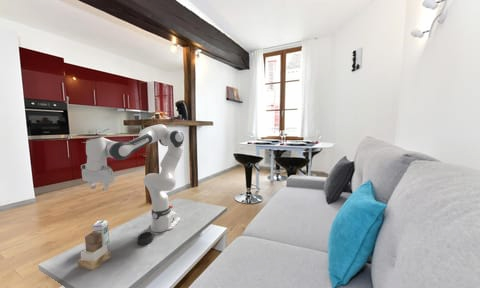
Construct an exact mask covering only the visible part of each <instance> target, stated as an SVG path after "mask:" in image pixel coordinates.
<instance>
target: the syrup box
mask: <svg viewBox="0 0 480 288" xmlns="http://www.w3.org/2000/svg"><path fill="white" fill-rule="evenodd" d="M108 224H109V223H108V219H103V220H97V221H96V222H95V223H94V224H93V225H91V226H92V228H91V229H92V232H94V231H95V232H101V233H102V244H106V245H107V246H108V244H109V242H110V236H109V235H110V233H109V225H108Z"/></svg>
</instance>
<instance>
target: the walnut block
mask: <svg viewBox="0 0 480 288" xmlns="http://www.w3.org/2000/svg"><path fill="white" fill-rule="evenodd" d="M84 244H85V249H86V251H89V252H95V251H97V250H98V249H100V248H101V247H103V245H102V233H101V232H95V231H94V232H93V231H92V232H91V233H89V234H87V235H85V236H84Z"/></svg>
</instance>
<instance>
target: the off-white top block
mask: <svg viewBox="0 0 480 288" xmlns="http://www.w3.org/2000/svg"><path fill="white" fill-rule="evenodd" d="M102 245H103V247H101V248H100V249H98V250H97V251H95V252H89V251H86V248H85V249H84V250H83V251H81V252H80V258H81V260H86V261H96V260H97V259H99V258H100V257H101V256H102V255H104V254H105V253H106V252H107V251H109V249H108V244H107V245H106V244H102Z"/></svg>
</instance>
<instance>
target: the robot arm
mask: <svg viewBox="0 0 480 288" xmlns="http://www.w3.org/2000/svg"><path fill="white" fill-rule="evenodd" d="M184 139H185V136H184V134H183V132H181V131H180V130H170V131H169V130H168V128H167V127H166V125H164V124H163V123H159V124H154V125H151V126H147V127H144V128H143V129H141V130H140V131H139V132H138V137H135V138H134V139H132V140H130V141H114V140H110V139H108V138H106V137H104V136H101V135H99V136H93V137H92V136H91V137H90V138H88V139H87V140H86V142H85V154H86V156H87V157H86V163H84V164H81V165H80V169H81V177H82V178H81V179H82V180H83V181H84V182H88V185H89V187H90V190H95V189H96V185H95V184H94V183H99V184H103V187H102V191H103V192H107V191H108V190H109V185H110V184H113V183H114V182H115V174H114V171H113V169H112V168H111V166H108V161H107V158H112V159H114V160H118V161H123V160H126V159H127V158H129V157H130V156H131V155H132V154H133V153H134V152H136V151H138V150H140V149H142V148H144V147H145V146H146V147H147V145H150V144H153V143H156V142H159V144H160V145H162V146H164V147H167V151H166V152H165V154H164V156H163V158H162V160H161V162H160V164H159V165H160V168H161V169H160V170H161V171H160V173H157V172H152V173H147V174H146V175H145V176H144V178H143V185H144V186H145V187H146V188H147V191H148V192H149V195H150V198H151V208H152V209H151V219H150V220H151V221H150V232H152V233H162V232H165V231H170V230H173V229H174V228H175V227H176V225H177V224H178V223H179V222H180V221H181V217H180V216H178V214H177V212H175V210H172V209H173V207H174V206H173V205H171V204H170V202H169V201H170V200H169V196H168V194H167V193H166V192H171V191H173V190H174V188H175V187H176V179H175V171H176V168H177V166H178V164H179V162H180V160H181V157H182V154H183V151H184V150H183V148H182V147H183V143H184ZM169 204H170V205H169Z"/></svg>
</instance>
